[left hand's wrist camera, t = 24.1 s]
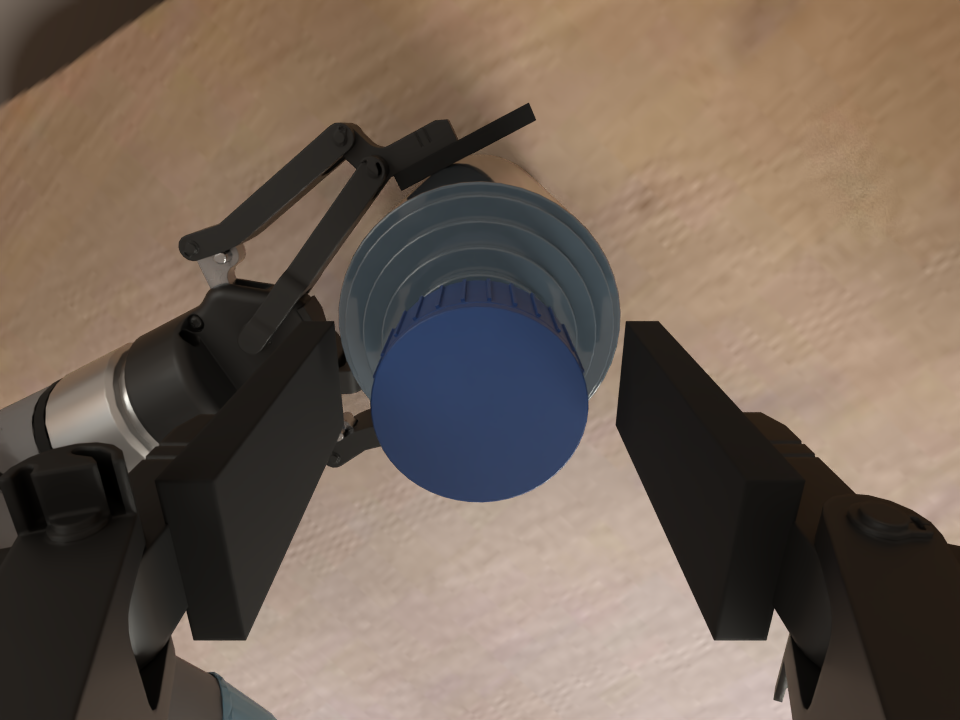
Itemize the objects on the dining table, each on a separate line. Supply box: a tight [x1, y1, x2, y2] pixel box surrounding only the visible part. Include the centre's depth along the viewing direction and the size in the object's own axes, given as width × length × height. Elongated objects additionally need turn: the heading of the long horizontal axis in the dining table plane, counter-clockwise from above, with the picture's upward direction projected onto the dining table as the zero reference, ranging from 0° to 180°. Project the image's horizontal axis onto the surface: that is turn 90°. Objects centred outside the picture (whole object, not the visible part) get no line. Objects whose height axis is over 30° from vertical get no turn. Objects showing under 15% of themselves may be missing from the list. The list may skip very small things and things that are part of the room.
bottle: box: [339, 154, 620, 401], centre depth 23 cm, size 8×8×22 cm
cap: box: [370, 278, 588, 502], centre depth 13 cm, size 5×5×2 cm
